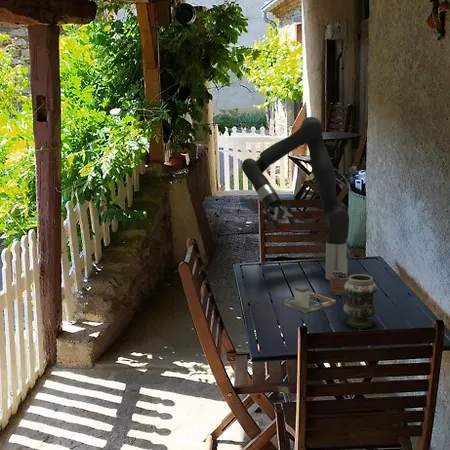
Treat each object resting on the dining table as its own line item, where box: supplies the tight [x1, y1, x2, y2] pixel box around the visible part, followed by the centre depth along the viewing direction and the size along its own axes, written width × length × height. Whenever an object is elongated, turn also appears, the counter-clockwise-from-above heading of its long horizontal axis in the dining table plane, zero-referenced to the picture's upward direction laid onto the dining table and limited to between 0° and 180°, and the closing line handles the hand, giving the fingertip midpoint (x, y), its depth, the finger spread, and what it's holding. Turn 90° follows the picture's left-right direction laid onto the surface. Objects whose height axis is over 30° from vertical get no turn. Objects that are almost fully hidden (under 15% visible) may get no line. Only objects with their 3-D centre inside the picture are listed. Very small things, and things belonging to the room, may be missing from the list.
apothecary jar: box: [342, 273, 378, 329], centre depth 233 cm, size 12×12×18 cm
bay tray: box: [282, 292, 336, 314], centre depth 256 cm, size 17×13×2 cm
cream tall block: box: [294, 285, 310, 307], centre depth 253 cm, size 4×4×8 cm
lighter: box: [329, 271, 350, 296], centre depth 268 cm, size 8×3×10 cm, turn 71°
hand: (287, 227), depth 267 cm, fingers open, 8 cm apart
